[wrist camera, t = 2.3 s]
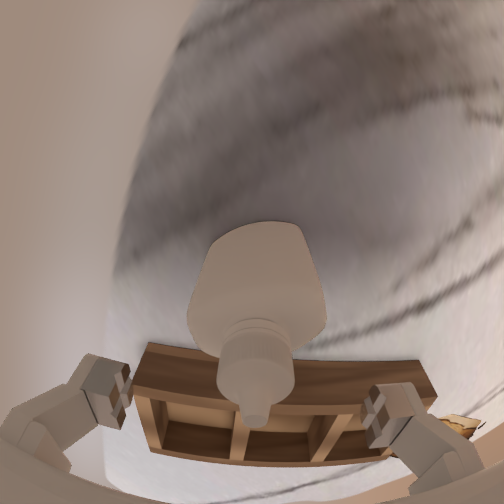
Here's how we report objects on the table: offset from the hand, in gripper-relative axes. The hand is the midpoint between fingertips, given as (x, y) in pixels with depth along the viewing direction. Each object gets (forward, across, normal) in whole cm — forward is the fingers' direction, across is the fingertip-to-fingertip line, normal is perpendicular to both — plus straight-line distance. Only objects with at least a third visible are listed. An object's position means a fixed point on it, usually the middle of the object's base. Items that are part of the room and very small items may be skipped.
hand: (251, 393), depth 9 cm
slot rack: (+11, -4, +13) cm, 18 cm away
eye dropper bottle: (+11, 0, -1) cm, 11 cm away
